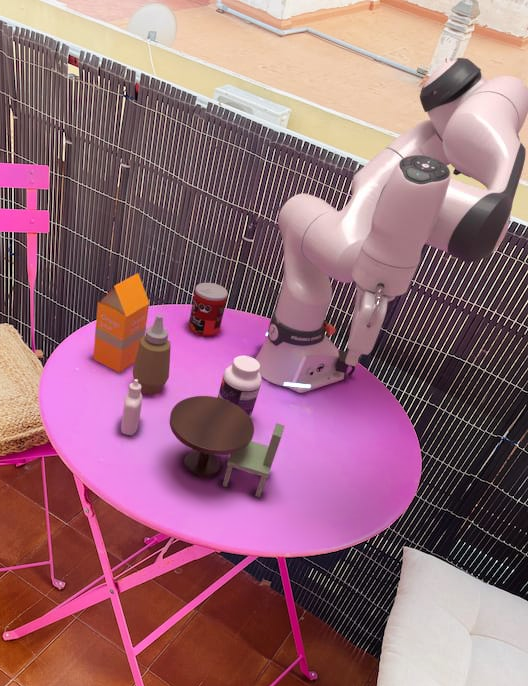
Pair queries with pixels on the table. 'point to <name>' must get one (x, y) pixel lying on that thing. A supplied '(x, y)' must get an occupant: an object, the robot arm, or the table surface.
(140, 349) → the squeeze bottle
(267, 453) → the chair
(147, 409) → the table surface
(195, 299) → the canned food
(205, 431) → the little table
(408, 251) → the robot arm
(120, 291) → the orange juice
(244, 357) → the pill bottle
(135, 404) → the eye dropper bottle
